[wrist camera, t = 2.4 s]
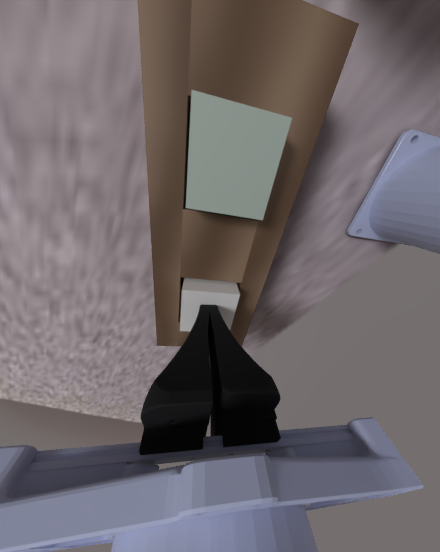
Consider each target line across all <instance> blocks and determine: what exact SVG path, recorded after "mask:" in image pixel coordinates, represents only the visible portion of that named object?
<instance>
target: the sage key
mask: <svg viewBox="0 0 440 552" xmlns="http://www.w3.org/2000/svg"><path fill="white" fill-rule="evenodd" d="M291 120H292V118H291V117H288V116H284V115H280V114H277V113H273V112H270V111H266V110H263V109H259V108H255V107H252V106H248V105H245V104H241V103H238V102H234V101H230V100H227V99H223V98H220V97H216V96H213V95H209V94H205V93H202V92H198V91H195V90H192V92H191V112H190V131H189V151H188V171H187V191H186V208H189V209H195V210H202V211H208V212H214V213H220V214H226V215H233V216H239V217H245V218H251V219H257V220H263V218H264V214H265V211H266V207H267V204H268V200H269V197H270V193H271V190H272V186H273V183H274V179H275V176H276V173H277V169H278V166H279V162H280V159H281V155H282V152H283V148H284V145H285V141H286V138H287V134H288V131H289V127H290V124H291Z"/></svg>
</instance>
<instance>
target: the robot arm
mask: <svg viewBox="0 0 440 552" xmlns="http://www.w3.org/2000/svg"><path fill="white" fill-rule="evenodd" d="M411 140H412V142H411ZM357 230H358V232H357ZM356 232H357V233H356ZM347 234H348V235H350V236H355V237H362V238H368V239H374V240H380V241H387V242H393V243H399V244H405V245H412V246H416V247H419V248H422V249H426V250H429V251H432V252H436V253H439V254H440V138H439V137H436V136H433V135H430V134H427V133H423V132H420V131H417V130H408V131H405V132H404V133H403V134H401V136H400V137H399V139H398V141H397V142H396V144H395V146H394V148H393V149H392V151H391V153H390V155H389V157H388V158H387V160H386V162H385V164H384V165H383V167H382V169H381V171H380V173H379V174H378V176H377V178H376V180H375V181H374V183H373V185H372V187H371V189H370V190H369V192H368V194H367V196H366V197H365V199H364V201H363V203H362V205H361V206H360V208H359V210H358V212H357V213H356V215H355V217H354V219H353V221H352V222H351V224H350V226H349V228H348V230H347ZM209 359H210V361H209ZM279 401H280V394H279V392H278V389H277V387H276V385H275V383H274V381H273V379H272V377H271V376H270V375H269V374H268V373H267V372H265V371H264V370H263V369H262V368H261V367H260V366H259V365H258V364H257V363H256V362H255V361H254V360H253V359H252V358H251V357H250V356H249V355H248V354H247V353H246V351H245V350H244V349H243V348H242V347H241V346H240V344H239V343H238V342H237V340H236V339H235V338H234V336H233V335H232V333H231V332H230V330H229V328H228V327H227V325H226V323H225V321H224V320H223V318H222V316H221V313H220V311H219V309H218V306H217V305H204V304H201V305H200V308H199V312H198V315H197V318H196V320H195V323H194V325H193V327H192V329H191V331H190V333H189V335H188V337H187V338H186V340H185V342H184V343H183V345H182V346H181V348H180V349H179V351H178V352H177V354H176V355H175V356H174V358H173V359H172V360H171V362H170V363H169V364H168V365H167V367H166V368H165V369H164V370H163V371H162V372H161V374H160V375H159V376H158V377H157V378H156V379H155V380H154V382H153V384H152V386H151V388H150V390H149V392H148V394H147V397H146V399H145V402H144V405H143V409H142V412H141V420H142V423H143V426H144V432H143V436H142V440H141V442H139V443H127V444H116V445H104V446H92V447H80V448H68V449H56V450H45V451H37V449H36V448H35V447H33V446H28V445H21V446H20V445H19V446H6V447H0V552H49V551H56V550H62V549H69V548H76V547H83V546H90V545H96V544H103V543H110V542H113V546H112V550H111V552H318V549H317V546H316V543H315V540H314V536H313V533H312V530H311V527H310V523H309V520H308V517H307V514H306V511H307V510H312V509H318V508H323V507H329V506H335V505H340V504H346V503H352V502H357V501H363V500H369V499H375V498H381V497H388V496H392V495H396V494H400V493H404V492H409V491H413V490H417V489H421V488H423V484H422V483H421V482H420V481H419V479H418V478H417V476H416V475H415V474H414V472H413V471H412V470H411V468H410V467H409V465H408V464H407V463H406V461H405V460H404V458H403V457H402V456H401V454H400V453H399V451H398V450H397V449H396V447H395V446H394V445H393V443H392V442H391V441H390V439H389V438H388V436H387V435H386V434H385V432H384V431H383V429H382V428H381V427H380V425H379V424H378V423H377V421H376V420H375V419H374V418H372V417H370V418H358V419H354V420H352V421H350V422H349V423H348V424H347V425H339V426H327V427H315V428H304V429H292V430H281V431H279V430H278V427H277V423H276V419H277V417H276V414H275V410H274V409H275V408H276V406H277V405H278V403H279ZM210 414H211V436H209V437H206V431H207V426H208V424H209V419H210ZM261 453H265V454H261ZM192 460H194V461H192ZM182 461H191V462H189V463H186V464H185V465H181V466H176V467H171V468H166V469H161V470H159V466H158V465H154V464H163V463H172V462H182Z"/></svg>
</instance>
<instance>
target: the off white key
mask: <svg viewBox="0 0 440 552" xmlns="http://www.w3.org/2000/svg"><path fill="white" fill-rule="evenodd" d="M239 297H240V293H239V289H238V286H237V283H236V282H227V281H216V280H205V279H195V278H184V282H183V287H182V297H181V317H180V331H188V332H190V331H191V329H192V327H193V325H194V323H195V320H196V318H197V315H198V312H199V308H200V305H201V304H204V305H217V306H218V309H219V311H220V313H221V316H222V318H223V320H224V321H225V323H226V325H227V327H228V328H229V330H230V329H231V325H232V322H233V318H234V315H235V311H236V308H237V304H238V300H239Z"/></svg>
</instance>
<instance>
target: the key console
mask: <svg viewBox="0 0 440 552" xmlns="http://www.w3.org/2000/svg"><path fill="white" fill-rule="evenodd" d="M138 12H139V30H140V48H141V66H142V84H143V101H144V119H145V137H146V155H147V172H148V190H149V208H150V226H151V243H152V261H153V279H154V297H155V315H156V332H157V346H182V345H183V343H184V342H185V340H186V338H187V337H188V335H189V333H190V332H188V331H180V317H181V297H182V287H183V282H184V278H195V279H205V280H216V281H227V282H236V283H237V286H238V289H239V293H240V297H239V300H238V304H237V308H236V311H235V315H234V318H233V322H232V325H231V329H230V332H231V333H232V335H233V336H234V338H235V339H236V340H237V342H238V343H239V344H240V346H241V347H242V344H243V341H244V339H245V336H246V333H247V330H248V328H249V325H250V322H251V319H252V317H253V314H254V311H255V308H256V306H257V303H258V300H259V297H260V295H261V292H262V289H263V286H264V284H265V281H266V278H267V275H268V273H269V270H270V267H271V264H272V262H273V259H274V256H275V253H276V251H277V248H278V245H279V242H280V239H281V237H282V234H283V231H284V228H285V226H286V223H287V220H288V217H289V215H290V212H291V209H292V206H293V204H294V201H295V198H296V195H297V193H298V190H299V187H300V184H301V182H302V179H303V176H304V173H305V171H306V168H307V165H308V162H309V160H310V157H311V154H312V151H313V149H314V146H315V143H316V140H317V138H318V135H319V132H320V129H321V127H322V124H323V121H324V118H325V116H326V113H327V110H328V107H329V105H330V102H331V99H332V96H333V94H334V91H335V88H336V85H337V83H338V80H339V77H340V74H341V72H342V69H343V66H344V63H345V61H346V58H347V55H348V52H349V49H350V47H351V44H352V41H353V38H354V36H355V33H356V30H357V27H358V25H359V24H358V23H355V22H353V21H351V20H348V19H346V18H343V17H341V16H339V15H336V14H334V13H331V12H329V11H326V10H324V9H322V8H319V7H317V6H314V5H312V4H310V3H307V2H305V1H302V0H138ZM192 90H195V91H198V92H202V93H205V94H209V95H213V96H216V97H220V98H223V99H227V100H230V101H234V102H238V103H241V104H245V105H248V106H252V107H255V108H259V109H263V110H266V111H270V112H273V113H277V114H280V115H284V116H288V117H291V118H292V120H291V124H290V127H289V131H288V134H287V138H286V141H285V145H284V148H283V152H282V155H281V159H280V162H279V166H278V169H277V173H276V176H275V179H274V183H273V186H272V190H271V193H270V197H269V200H268V204H267V207H266V211H265V214H264V218H263V220H257V219H251V218H245V217H239V216H233V215H226V214H220V213H214V212H208V211H202V210H195V209H189V208H186V191H187V171H188V151H189V131H190V112H191V92H192Z"/></svg>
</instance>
